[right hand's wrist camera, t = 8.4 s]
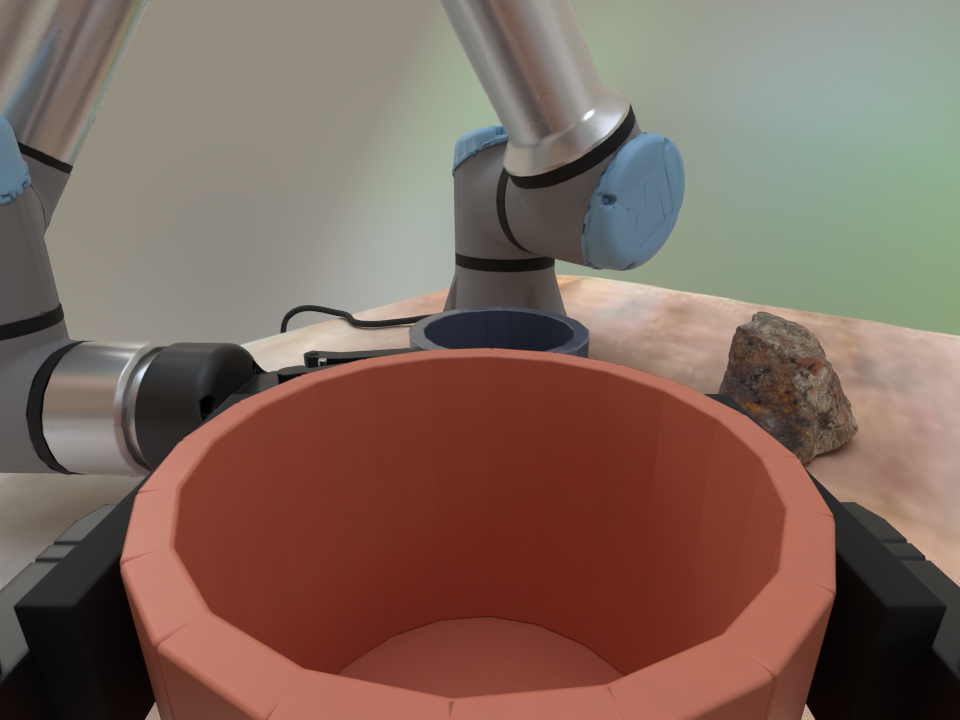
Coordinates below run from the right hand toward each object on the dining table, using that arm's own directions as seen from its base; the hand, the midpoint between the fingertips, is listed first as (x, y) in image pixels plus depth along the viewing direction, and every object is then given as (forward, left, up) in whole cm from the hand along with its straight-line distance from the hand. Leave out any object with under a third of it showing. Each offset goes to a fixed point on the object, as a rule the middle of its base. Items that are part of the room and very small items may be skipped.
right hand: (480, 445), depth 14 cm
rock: (-7, -37, -14) cm, 40 cm away
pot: (-2, +3, -6) cm, 8 cm away
